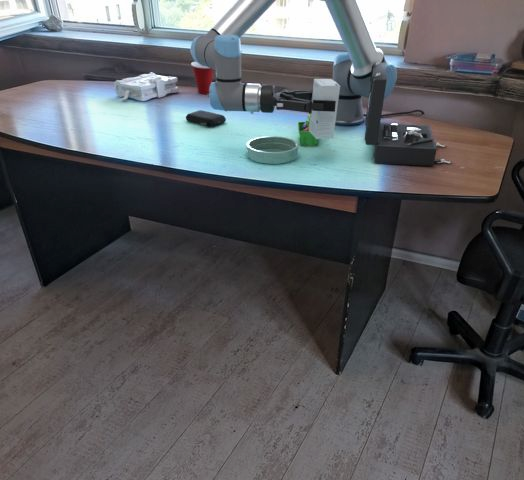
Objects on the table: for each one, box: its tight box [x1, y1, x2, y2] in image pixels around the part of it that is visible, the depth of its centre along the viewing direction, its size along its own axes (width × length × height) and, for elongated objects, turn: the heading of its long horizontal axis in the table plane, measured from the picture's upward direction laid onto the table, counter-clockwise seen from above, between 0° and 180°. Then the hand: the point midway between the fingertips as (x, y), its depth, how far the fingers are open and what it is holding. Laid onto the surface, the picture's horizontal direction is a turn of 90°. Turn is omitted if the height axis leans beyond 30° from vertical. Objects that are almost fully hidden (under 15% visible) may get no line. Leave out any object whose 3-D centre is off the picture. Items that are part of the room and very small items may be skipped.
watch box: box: [364, 62, 451, 167], centre depth 153 cm, size 26×28×24 cm
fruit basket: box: [297, 113, 319, 147], centre depth 166 cm, size 11×9×11 cm
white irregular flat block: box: [113, 71, 179, 102], centre depth 217 cm, size 19×28×8 cm
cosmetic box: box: [309, 78, 340, 140], centre depth 144 cm, size 8×6×15 cm
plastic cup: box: [190, 61, 215, 95], centre depth 220 cm, size 11×11×12 cm
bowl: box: [246, 135, 299, 165], centre depth 157 cm, size 17×17×4 cm
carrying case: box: [185, 109, 227, 128], centre depth 185 cm, size 11×3×15 cm
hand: (336, 101), depth 142 cm, fingers closed on cosmetic box, 9 cm apart
